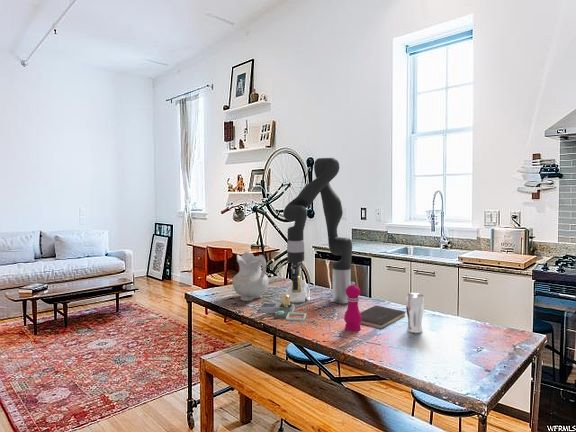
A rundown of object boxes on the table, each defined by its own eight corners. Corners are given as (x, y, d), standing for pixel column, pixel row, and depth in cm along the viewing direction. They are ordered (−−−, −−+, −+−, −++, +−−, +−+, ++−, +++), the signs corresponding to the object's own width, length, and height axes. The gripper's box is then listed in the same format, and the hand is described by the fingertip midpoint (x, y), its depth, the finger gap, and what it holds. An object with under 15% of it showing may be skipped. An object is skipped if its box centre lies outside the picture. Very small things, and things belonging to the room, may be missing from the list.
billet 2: (301, 290, 181) (301, 275, 180) (300, 292, 177) (299, 277, 176) (292, 290, 181) (292, 274, 181) (291, 292, 177) (290, 277, 177)
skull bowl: (318, 297, 212) (310, 279, 206) (304, 316, 204) (295, 299, 198) (303, 293, 219) (295, 276, 214) (288, 311, 211) (280, 295, 206)
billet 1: (290, 308, 192) (290, 294, 192) (289, 311, 188) (289, 296, 188) (282, 308, 193) (282, 294, 192) (280, 311, 189) (280, 296, 189)
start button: (284, 315, 182) (284, 310, 182) (283, 317, 179) (283, 312, 179) (278, 314, 183) (278, 310, 182) (277, 317, 180) (276, 312, 180)
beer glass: (414, 335, 160) (415, 298, 159) (402, 329, 166) (402, 294, 165) (427, 332, 163) (427, 295, 162) (414, 327, 169) (415, 292, 168)
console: (287, 317, 183) (287, 312, 183) (285, 321, 178) (285, 315, 178) (276, 317, 184) (276, 311, 184) (274, 320, 179) (274, 315, 179)
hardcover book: (405, 316, 185) (405, 311, 185) (381, 330, 168) (381, 324, 168) (374, 309, 196) (374, 305, 195) (349, 321, 178) (349, 316, 178)
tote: (306, 317, 183) (306, 313, 183) (304, 323, 175) (304, 318, 175) (288, 316, 185) (288, 312, 184) (285, 322, 176) (285, 318, 176)
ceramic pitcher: (279, 299, 217) (280, 253, 217) (257, 305, 200) (258, 255, 200) (247, 294, 228) (248, 250, 228) (224, 299, 212) (225, 252, 212)
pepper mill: (363, 327, 170) (363, 280, 168) (359, 333, 163) (359, 284, 162) (347, 325, 173) (347, 279, 171) (341, 330, 166) (342, 282, 165)
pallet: (295, 309, 195) (295, 303, 195) (292, 316, 185) (292, 309, 185) (263, 308, 198) (263, 301, 197) (258, 314, 188) (258, 307, 188)
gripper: (302, 253, 170) (302, 293, 171) (306, 247, 184) (306, 284, 185) (284, 253, 171) (285, 292, 173) (289, 247, 185) (290, 284, 187)
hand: (296, 288), depth 179 cm, fingers closed on billet 2, 4 cm apart
